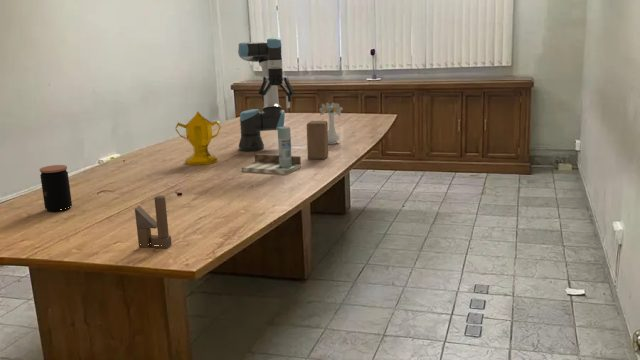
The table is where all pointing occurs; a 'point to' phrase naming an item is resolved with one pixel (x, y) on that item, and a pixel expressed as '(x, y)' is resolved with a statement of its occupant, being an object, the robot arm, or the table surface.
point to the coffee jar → (55, 188)
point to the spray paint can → (284, 146)
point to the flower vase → (331, 120)
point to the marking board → (271, 164)
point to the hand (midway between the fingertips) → (277, 107)
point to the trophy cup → (199, 139)
